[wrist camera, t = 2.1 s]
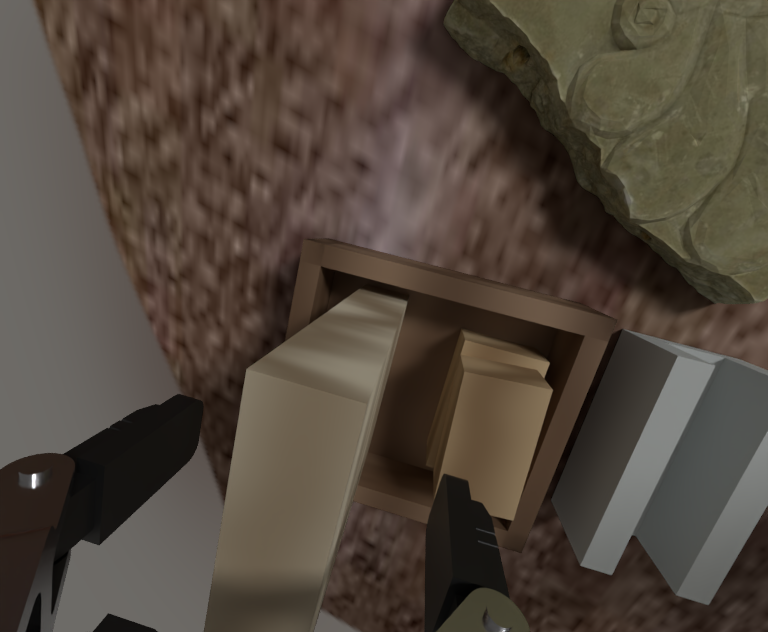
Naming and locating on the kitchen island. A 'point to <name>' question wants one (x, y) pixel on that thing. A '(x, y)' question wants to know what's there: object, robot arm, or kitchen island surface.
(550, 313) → the wooden tray
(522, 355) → the oak offcut lower
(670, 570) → the slot stand
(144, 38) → the kitchen island surface
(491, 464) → the oak offcut upper
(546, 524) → the kitchen island surface
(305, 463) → the birch sheet
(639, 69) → the decorative tile
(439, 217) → the kitchen island surface
